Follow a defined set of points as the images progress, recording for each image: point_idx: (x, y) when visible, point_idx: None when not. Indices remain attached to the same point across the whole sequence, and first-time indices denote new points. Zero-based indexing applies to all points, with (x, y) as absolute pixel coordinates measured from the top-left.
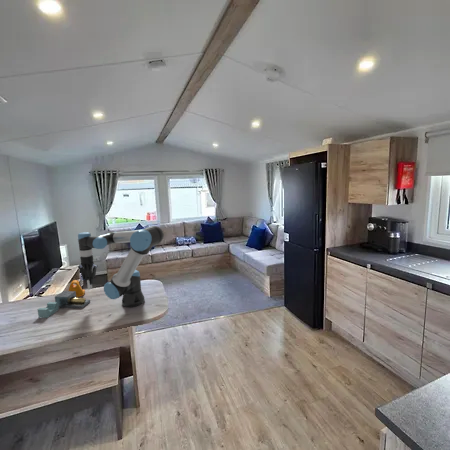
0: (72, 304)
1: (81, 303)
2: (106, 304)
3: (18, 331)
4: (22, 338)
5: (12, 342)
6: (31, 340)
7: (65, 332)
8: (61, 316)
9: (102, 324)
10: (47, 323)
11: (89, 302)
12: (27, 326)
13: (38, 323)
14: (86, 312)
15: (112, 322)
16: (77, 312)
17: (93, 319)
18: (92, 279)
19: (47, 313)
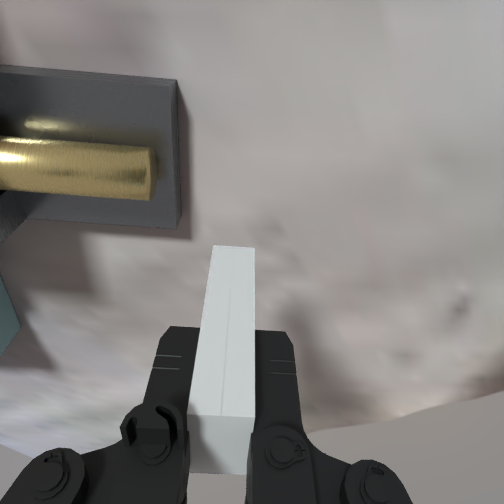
0: (56, 204)
1: None
2: (391, 139)
3: (9, 418)
4: (91, 449)
5: None
6: None
7: None
8: (105, 315)
9: (428, 386)
10: (89, 373)
11: (176, 96)
12: (3, 390)
13: (34, 372)
14: (259, 273)
15: (486, 373)
16: (184, 272)
17: (355, 347)
18: (303, 431)
19: (3, 345)
